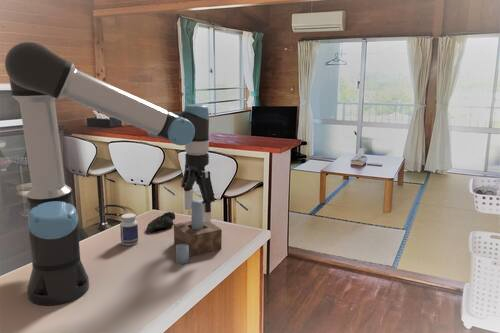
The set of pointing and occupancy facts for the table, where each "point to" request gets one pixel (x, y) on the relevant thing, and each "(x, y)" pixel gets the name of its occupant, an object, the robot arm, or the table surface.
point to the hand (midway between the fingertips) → (197, 214)
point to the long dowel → (196, 215)
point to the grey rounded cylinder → (182, 253)
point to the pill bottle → (129, 229)
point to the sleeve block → (198, 237)
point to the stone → (161, 222)
